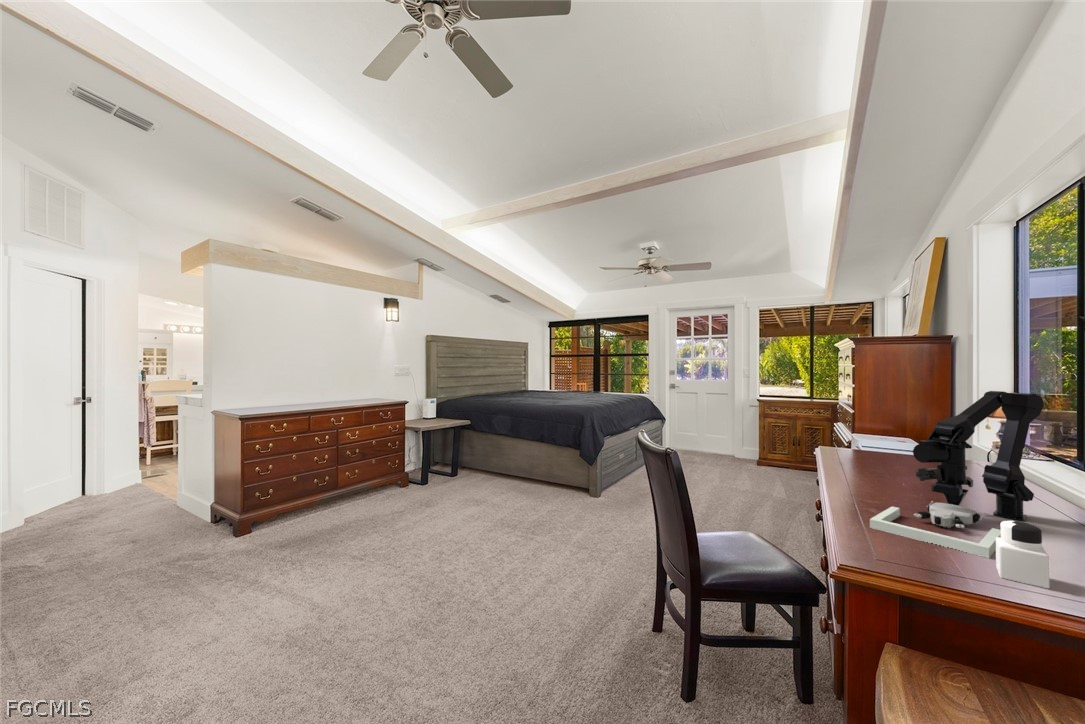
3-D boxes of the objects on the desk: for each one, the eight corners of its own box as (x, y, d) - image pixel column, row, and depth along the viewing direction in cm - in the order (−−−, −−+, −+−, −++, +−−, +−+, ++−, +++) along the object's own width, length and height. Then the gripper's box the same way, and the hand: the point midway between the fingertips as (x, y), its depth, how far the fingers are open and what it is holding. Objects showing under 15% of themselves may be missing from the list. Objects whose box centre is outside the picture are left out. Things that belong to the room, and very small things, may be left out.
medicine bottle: (1043, 577, 93) (1042, 523, 93) (1049, 589, 87) (1048, 532, 88) (995, 566, 98) (995, 515, 98) (999, 578, 92) (998, 523, 93)
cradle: (892, 514, 133) (891, 506, 133) (1003, 539, 113) (1003, 530, 113) (869, 527, 121) (869, 519, 121) (989, 558, 102) (988, 548, 102)
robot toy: (965, 538, 116) (987, 525, 122) (964, 522, 116) (986, 510, 122) (911, 523, 127) (933, 512, 133) (910, 509, 126) (932, 498, 133)
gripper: (927, 454, 142) (927, 499, 142) (909, 461, 131) (910, 510, 131) (973, 460, 133) (973, 508, 133) (958, 468, 122) (959, 521, 122)
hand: (953, 511), depth 130 cm, fingers closed
